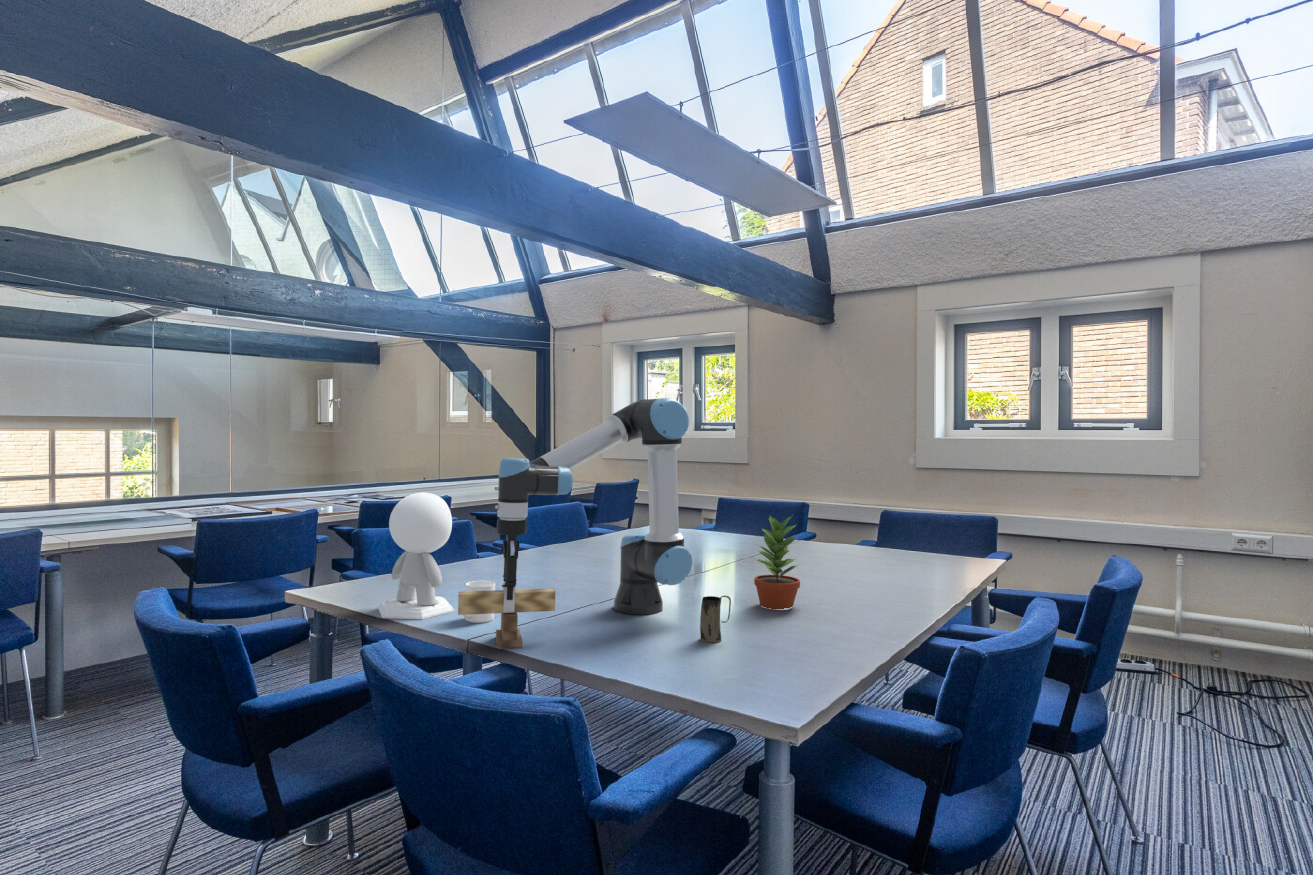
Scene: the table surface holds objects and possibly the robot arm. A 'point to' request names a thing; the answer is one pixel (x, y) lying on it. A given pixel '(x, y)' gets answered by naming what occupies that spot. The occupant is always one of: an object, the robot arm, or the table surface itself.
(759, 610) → the table surface
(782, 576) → the potted plant
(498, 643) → the fulcrum
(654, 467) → the robot arm
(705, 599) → the mug
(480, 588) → the mug
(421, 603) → the big headed doll
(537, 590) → the oak bar
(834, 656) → the table surface
